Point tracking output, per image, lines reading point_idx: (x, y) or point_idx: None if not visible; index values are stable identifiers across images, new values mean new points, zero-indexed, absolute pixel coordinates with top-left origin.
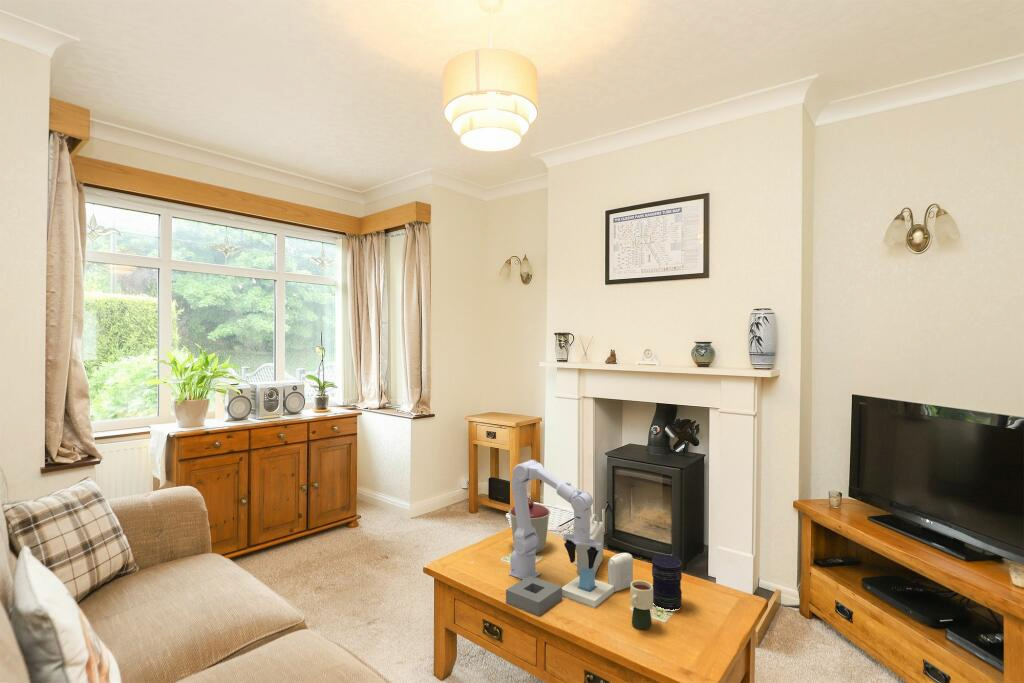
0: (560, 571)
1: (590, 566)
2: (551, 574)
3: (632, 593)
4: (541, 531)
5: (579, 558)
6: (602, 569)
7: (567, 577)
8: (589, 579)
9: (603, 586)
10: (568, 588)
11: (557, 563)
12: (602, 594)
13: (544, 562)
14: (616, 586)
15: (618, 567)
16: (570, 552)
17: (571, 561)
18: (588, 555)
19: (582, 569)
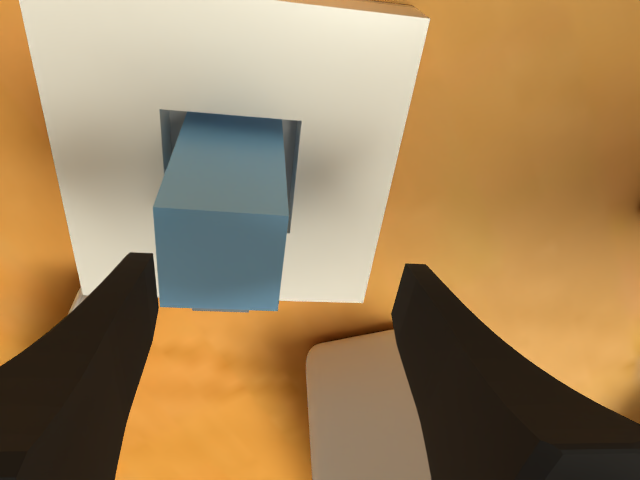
0: (513, 305)
1: (113, 270)
2: (560, 251)
3: None
4: None
5: (413, 411)
6: (304, 420)
7: (450, 270)
8: (163, 180)
9: (135, 250)
10: (360, 65)
11: (551, 362)
12: (52, 134)
13: (628, 339)
14: (74, 300)
15: None
16: (466, 356)
17: (415, 272)
18: (59, 384)
19: (276, 257)
